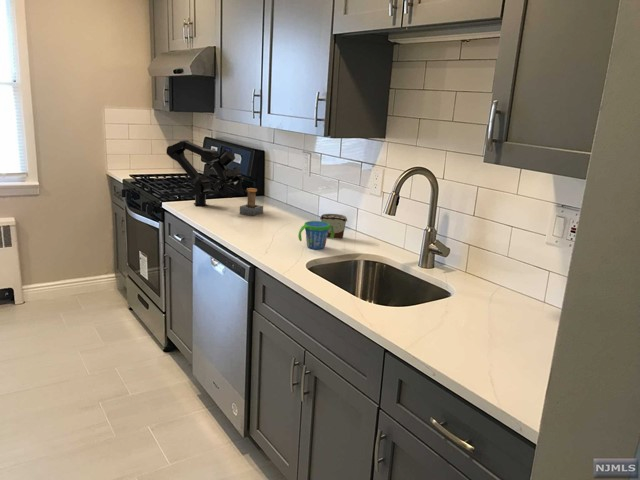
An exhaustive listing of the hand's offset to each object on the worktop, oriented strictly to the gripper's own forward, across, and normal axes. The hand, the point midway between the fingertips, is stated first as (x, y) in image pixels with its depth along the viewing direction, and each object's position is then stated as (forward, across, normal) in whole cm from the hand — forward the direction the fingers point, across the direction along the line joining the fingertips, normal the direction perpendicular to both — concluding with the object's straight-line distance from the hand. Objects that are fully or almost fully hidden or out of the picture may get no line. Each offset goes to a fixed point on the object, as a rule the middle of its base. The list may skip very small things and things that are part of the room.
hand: (237, 195), depth 265 cm
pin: (+12, +1, -1) cm, 12 cm away
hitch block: (+12, +1, -1) cm, 12 cm away
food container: (+48, -10, -43) cm, 65 cm away
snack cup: (+49, -30, -46) cm, 74 cm away
